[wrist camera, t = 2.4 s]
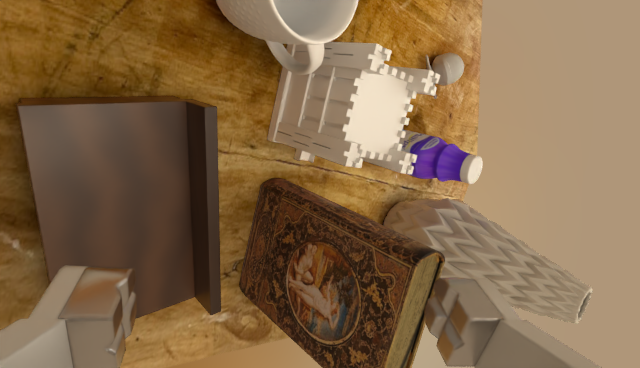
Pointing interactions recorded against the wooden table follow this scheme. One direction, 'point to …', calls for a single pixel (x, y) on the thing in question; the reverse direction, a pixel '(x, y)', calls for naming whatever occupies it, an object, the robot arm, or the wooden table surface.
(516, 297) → the vase
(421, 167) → the bottle
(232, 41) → the wooden table surface
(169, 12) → the wooden table surface
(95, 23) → the wooden table surface
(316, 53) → the mug
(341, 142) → the castle model
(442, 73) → the figurine
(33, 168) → the shelf
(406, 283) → the book
